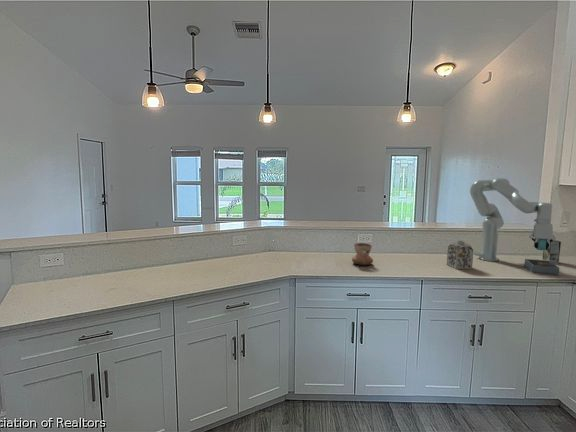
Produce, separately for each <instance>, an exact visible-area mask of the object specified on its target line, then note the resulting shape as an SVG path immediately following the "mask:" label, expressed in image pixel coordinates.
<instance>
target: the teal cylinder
mask: <svg viewBox="0 0 576 432" xmlns="http://www.w3.org/2000/svg"><path fill="white" fill-rule="evenodd" d="M546 242H547V239H538V241H537V243H538V248H537V249H536V250H538V251H543V250H546Z"/></svg>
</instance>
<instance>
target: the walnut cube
mask: <svg viewBox="0 0 576 432" xmlns="http://www.w3.org/2000/svg"><path fill="white" fill-rule="evenodd" d="M549 265H550V264H548V263H546V262H538V263H537V266H548V267H549Z"/></svg>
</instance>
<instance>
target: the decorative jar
mask: <svg viewBox="0 0 576 432" xmlns="http://www.w3.org/2000/svg"><path fill="white" fill-rule="evenodd" d="M473 262H474V249H473V247H472V245H471V244H468V243H466V242H465V241H464V240H457V241H456V242H452V243H450V244H449V245H448V246H447V256H446V265H447V266H449V267H451V268H453V269H455V270H472V269H473Z"/></svg>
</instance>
